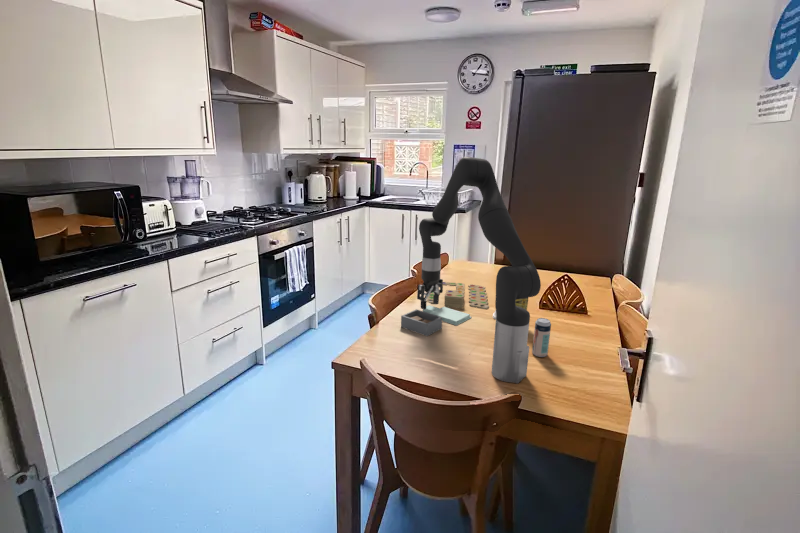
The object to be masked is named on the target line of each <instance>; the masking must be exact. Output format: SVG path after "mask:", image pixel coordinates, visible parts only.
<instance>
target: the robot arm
mask: <svg viewBox="0 0 800 533" xmlns="http://www.w3.org/2000/svg"><path fill="white" fill-rule="evenodd" d="M463 186H467V187H475V188H478V189H479V191H480V194H481V196H482V200H481V201H482V202H481V205H480V206H479V210H478V214H477V215H478V216H477V218H478V223H479V226H480V228H481V231H482V234H483V235H484V237H485V239H486V240H487V241H488V242H489V244H491V245H492V246H494V247H495V249H497V250H498V251H499V252H501V253H502V254H503V255H504V256H505V258H507V260H508V261H509V262H510V264H511V265H506V266H502V267H500V268H499V269H498V271H497V274H496V278H495V279H496V280H495V302H494V303H495V305H494V306H495V310H496V319H495V327H494V337H493V338H494V340H493V349H492V350H493V351H492V364H491V374H492V376H493V377H494V378H495V379H497V380H499V381H502V382H506V383H515V384H519V383H520V382H521V381H522V380H523V379H525V377H527V372H528V364H529V353H530V345H528V338H529V329H530V320H531V314H530V312H529V311H528V309H527V310H526V309H524V308H521V307H518V306H516V299H518V298H528V299H529V298H533V297H535V296H538V294H540V291H541V286H542V285H541V284H542V283H541V279H540V278H541V277H540V274H539V272H538V269H537V267H536V266H535V264H534V262H533V260H532V258H531V257H530V255H529V254H528V251H527V250H526V248H525V246H524V244H523V242H522V240H521V238H520V236H519V234H518V232H517V229H516V228H515V225H514V222H513V219H512V217H511V214H510V213H509V210H508V208H507V205H506V204H505V202H504V199H503V197H502V194H501V191H500V189H499V186H498V182H497V179H496V176H495V172H494V169H493V166H492V164H491V163H490V162H489V160H487V159H485V158H481V157H472V156H463V157H461V159H459V160H458V162H457V163H456V165H455V167H454V170H453V171H452V174H451V176H450V179H449V181H448V183H447V186H446V188H445V189H444V190H445V191H444V193H443V194H442V197H441V198H440V200H439V201H438V202H437V204H436V206H435V207H434V209H433V211H432V213H431V217H427V218H423V219H422V220H420V222H419V224H418V231H419V234H420V239H421V243H422V260H421V280H422V281H423V283H422V284H418V285H417V291H416V292H417V294H416V295H417V296H416V299H417V300H419V301H420V309H422V310H423V309H424V310H425V309H426V306H427V302H426V300H427V297H428V296H429V295H430V293H432V292H433V293H434V294H435V295H434V296H433V303H434V304H433V305H438V304H439V303H440V302H439V301H440V295H441V294H442V293H443V291H444V285H443V282H444V280H443V278H441V269H442V265H441V264H442V261H441V255H442V254H441V249H442V248H441V247H442V245H441V243H440V242H437V241H433V239H432V237H439V236H442V235H443V234H445V233H446V231H447V229H448V227H449V226H448V225H449V222H450V220H451V218H452V217H453V216H454V214H455V213H456V212H457V210H458V207H459V191H460V189H461V188H462V187H463Z"/></svg>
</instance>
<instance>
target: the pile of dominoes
mask: <svg viewBox="0 0 800 533" xmlns="http://www.w3.org/2000/svg"><path fill="white" fill-rule="evenodd" d="M447 285H450V286H451V287H455V290H453V289H446V291H445V294H444V301H443V303H444V306H443V307H446V308H452V307H456V309H463V308H464V304H465V292H464V291H465V290H466V289H465V283H463V282H457V283H456V282H449V281H443V286H447ZM450 286H449V287H450ZM467 290H468V296H469V297H468V303H469V305H468V306H469V307H472V308H476V307H477V308H476V309H480V310H489V308H490V305H489V301H488V293H487V292H486V291H487V289H486V286H482V285H477V284H472V283H471V284H469V285H468V286H467ZM434 295H435V294H434V293H433V292H432V293H430V295H429V296H428V297H427V300H426V303H429V304H431V305H435V304H434V303H433V296H434ZM470 296H471V297H470ZM469 299H470V300H469Z"/></svg>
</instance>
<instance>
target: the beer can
mask: <svg viewBox="0 0 800 533" xmlns="http://www.w3.org/2000/svg"><path fill="white" fill-rule="evenodd" d="M534 323H535V324H534V331H533V332H534V333H533V339H532V340H533V342H532V351H531V353H532V355H534V356H535V357H537V358H538V357H539V358H544V357H548V355H549V354H548V353H549V345H550V339H551V338H550V337H551V328H552V323H551V321H550V320H549V319H548V318H545V317H544V318H543V317H540V318H539V317H538V318H537V319H536V320H535V322H534Z"/></svg>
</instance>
